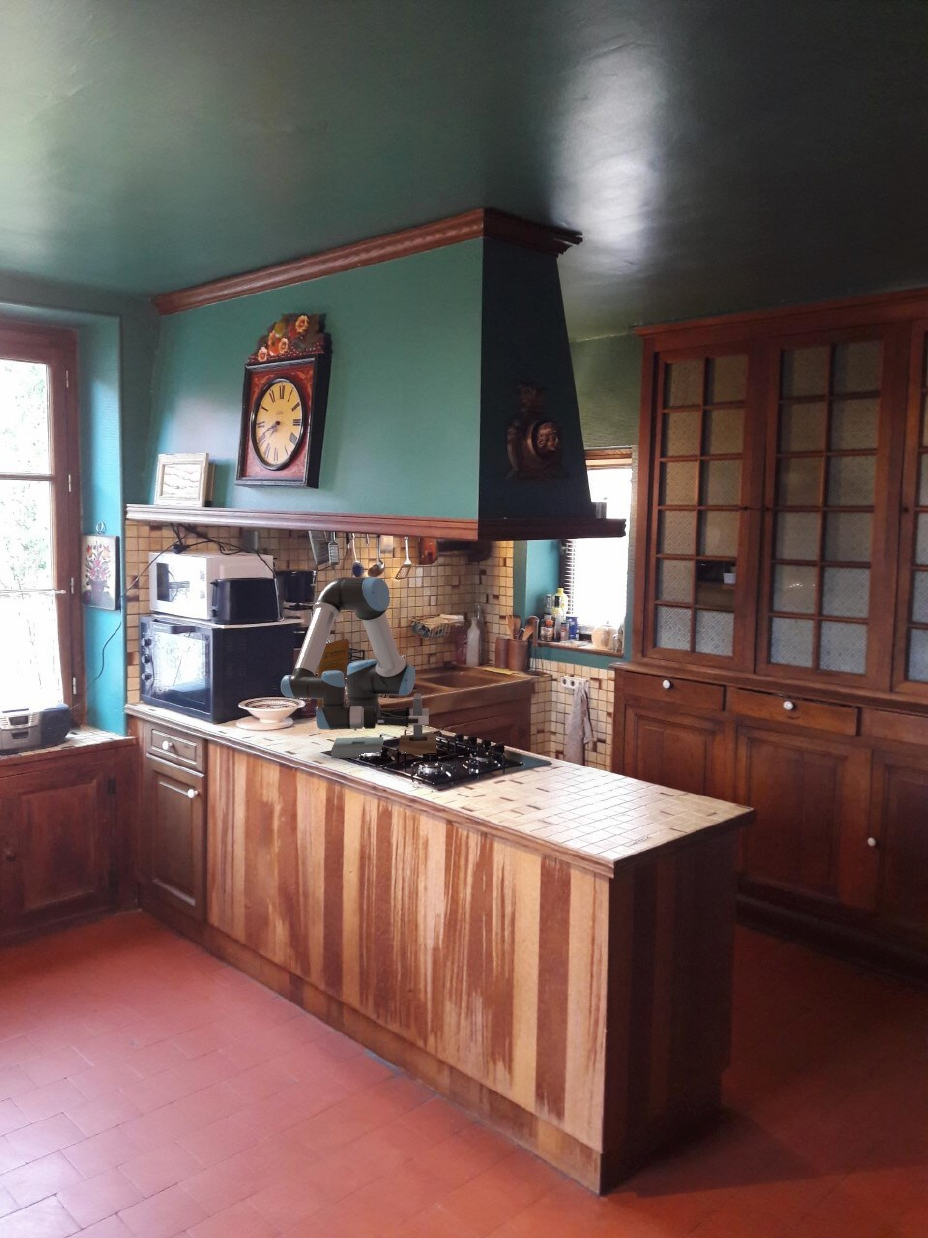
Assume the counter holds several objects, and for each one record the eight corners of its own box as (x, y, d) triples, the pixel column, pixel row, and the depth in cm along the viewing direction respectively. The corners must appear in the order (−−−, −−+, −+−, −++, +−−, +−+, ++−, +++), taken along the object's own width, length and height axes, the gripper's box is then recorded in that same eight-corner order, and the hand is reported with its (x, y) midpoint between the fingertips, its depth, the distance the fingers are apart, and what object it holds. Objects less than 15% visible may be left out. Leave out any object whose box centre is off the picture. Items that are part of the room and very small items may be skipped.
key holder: (400, 746, 338) (400, 735, 338) (436, 746, 338) (436, 734, 338) (399, 755, 326) (399, 743, 326) (436, 754, 327) (436, 742, 326)
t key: (414, 747, 337) (413, 693, 335) (422, 746, 337) (422, 693, 335) (413, 754, 327) (412, 699, 325) (422, 754, 327) (421, 698, 325)
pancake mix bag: (356, 705, 415) (354, 638, 412) (322, 712, 400) (321, 643, 397) (344, 703, 419) (342, 637, 416) (311, 711, 404) (309, 642, 401)
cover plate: (336, 746, 340) (336, 738, 339) (383, 745, 340) (383, 737, 340) (331, 757, 324) (331, 748, 323) (381, 756, 324) (380, 747, 324)
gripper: (366, 721, 343) (429, 720, 344) (361, 736, 319) (428, 735, 320) (365, 699, 342) (428, 698, 343) (360, 713, 318) (428, 712, 319)
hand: (428, 716), depth 331 cm, fingers open, 12 cm apart
